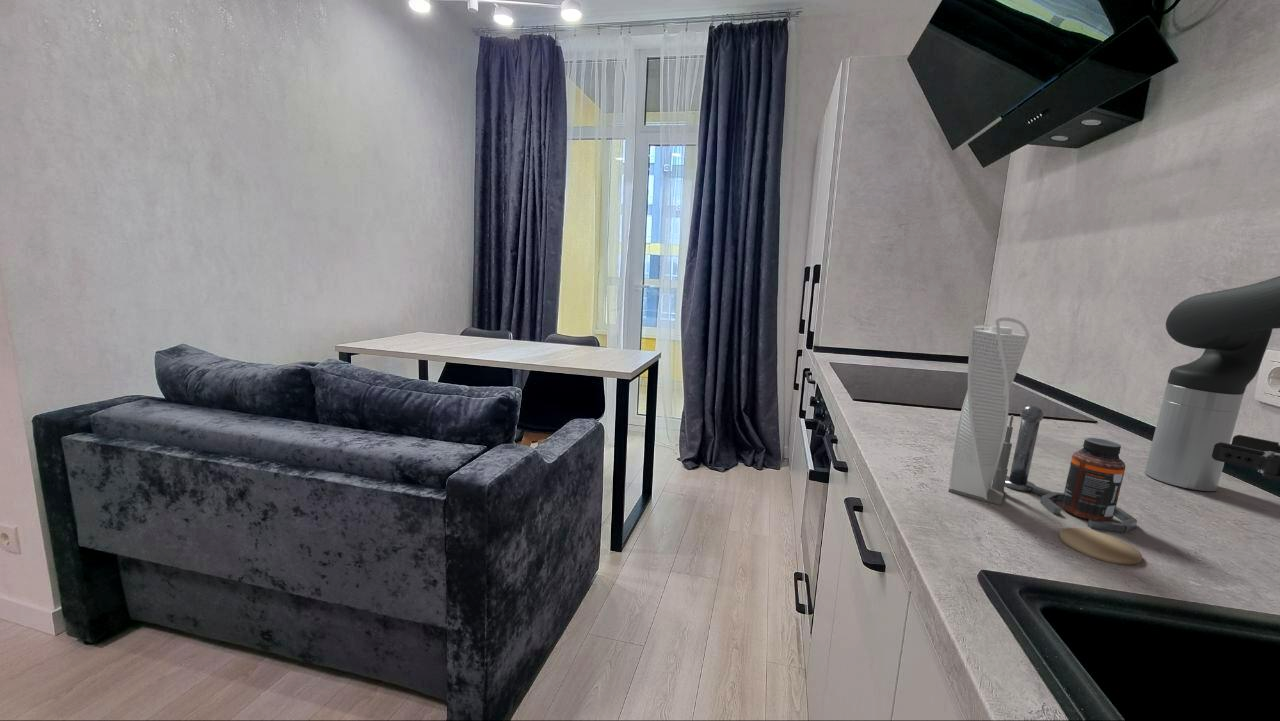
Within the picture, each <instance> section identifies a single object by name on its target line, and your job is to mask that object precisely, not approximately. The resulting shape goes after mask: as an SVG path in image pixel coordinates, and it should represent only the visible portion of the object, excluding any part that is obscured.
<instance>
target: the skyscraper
mask: <svg viewBox="0 0 1280 721" xmlns="http://www.w3.org/2000/svg"><path fill="white" fill-rule="evenodd" d="M1000 322H1011V323H1015V324H1017V325H1018V326H1020V327H1021V328H1022V329H1023V331H1024V333H1025V335H1024V334H1021V333H1020V334H1019V333H1014V332H1013V327H1009V326H1008V327H1007V326H1000ZM978 328H981V329H978ZM985 328H986V329H989V330H985ZM982 329H983V330H982ZM1030 336H1031V335H1030V333H1029V330H1028V328H1027V326H1026V325H1025V324H1024V323H1023V322H1022V321H1021V320H1019V319H1015V318H1011V317H999V318H997V319H995V325H990V324H973V325H972V326H971V328H970V337H969V338H970V339H969V347H968V348H969V349H968V361H967V362H968V363H967V365H968V366H967V391H966V394H965V397H964V400H963V402H962V403H963V404H962V407H961V411H960V415H959V419H958V423H957V428H956V432H955V439H954V444H953V452H952V458H951V468H950V475H949V482H948V483H949V486H948V492H949V493H954V494H957V495H960V496H961V495H962V496H964V497H968V498H972V499H975V498H976V500H979V499H980V500H979V501H983V502H986V501H987V503H990V504H994V505H998V506H1002V505H1003V504H1002V503H1003V498H1004V494H1005V481H1006V476H1008V466H1009V461H1010V457H1011V452H1012V451H1011V450H1012V445H1013V442H1011V438H1012V435H1013V434H1012V433H1013V430H1014V429H1013V428H1014V426H1013V422H1014V415H1013V414H1012V415H1010V419H1009V407H1010V404H1009V403H1010V395H1009V393H1010V389H1011V388H1012V385H1013V383H1014V380H1015V378H1016V376H1017V372H1018V370H1019V368H1020V365H1021V362H1022V359H1023V357H1024V354H1025V351H1026V348H1027V346H1028V342H1029V340H1030ZM1008 420H1010V421H1009V425H1008Z"/></svg>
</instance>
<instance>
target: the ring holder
mask: <svg viewBox="0 0 1280 721" xmlns="http://www.w3.org/2000/svg"><path fill="white" fill-rule="evenodd" d="M1020 418H1021V421H1020V426H1019V428H1018V429H1019V431H1018V434H1017V440H1016V445H1015V450H1014V454H1013V460H1012V463H1011V464H1012V465H1011V469H1010V473H1009V474H1010V475H1007V476H1006V481H1005V486H1004V488H1005V487H1006V488H1008V489H1011V490H1014V491H1018V492H1023V493H1033V494H1037V495H1039V496H1041V498H1040V502H1039V503H1040V504H1041V505H1042V506H1043V507H1044V508H1045V509H1047V510H1048V511H1049V512H1051V514H1052V515H1058V516H1060V515H1061V511H1062V507H1060V506H1058V505H1057V504H1056V503H1055V502H1056V501H1061V502H1062V500H1063V495H1064V492H1057V491H1052V490H1048V489H1045V488H1043V487H1039V486H1037V485H1036V484H1035V483H1033V482H1031V481H1028V479H1029V475H1030V469H1031V465H1032V460H1033V456H1034V451H1035V446H1036V442H1037V438H1038V432H1039V428H1040V423H1041V421H1042V420H1044V412H1043V410H1042V409H1041V408H1040V407H1039V406H1037V405H1032V404H1030V405H1026V406H1024V407H1023V408H1022V409H1021V411H1020ZM1114 516H1115V517H1116V518H1117V519H1119V520H1120V521H1122V522H1120V523H1119V522H1114V521H1109V522H1108V521H1101V520H1094V519H1089V520H1088V522H1087V526H1088V527H1089V528H1090V529H1095V530H1103V531H1109V532H1115V533H1122V534H1123V533H1124V534H1125V533H1128V532H1129V531H1131V530H1133V529H1135V528H1136V527H1137V522H1138V520H1137V518H1135V517H1133V516H1132V515H1131V514H1129V513H1127V512H1126V511H1125V510H1123V509H1122V508H1120V507H1117V506H1116V509H1115V514H1114Z"/></svg>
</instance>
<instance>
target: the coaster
mask: <svg viewBox="0 0 1280 721" xmlns="http://www.w3.org/2000/svg"><path fill="white" fill-rule="evenodd" d="M1059 538H1060V540H1061V542H1062V543H1064V544H1065V545H1067V546H1068V547H1070V548H1071V549H1073V550H1075V551H1077V552H1078V553H1080V554H1081V553H1082V554H1084V555H1086V556H1088V557H1090V558H1094V559H1096V560H1100V561H1103V562H1107V563H1111V564H1117V565H1123V566H1136V565H1138V564H1140V563H1141V561H1142V557H1143V556H1142V553H1141V551H1139V550H1138V549H1137V548H1136V547H1134V546H1133V545H1131V544H1129V543H1127V542H1125V541H1123V540H1122V539H1118V538H1116V537H1114V536H1111V535H1108V534H1105V533H1102V532H1099V531H1096V530H1095V531H1094V530H1091V529H1087V528H1080V527H1065V528H1063V529H1061V530H1060V533H1059Z"/></svg>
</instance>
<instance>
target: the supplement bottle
mask: <svg viewBox="0 0 1280 721" xmlns="http://www.w3.org/2000/svg"><path fill="white" fill-rule="evenodd" d="M1121 446H1122V445H1121V444H1119V443H1117V442H1115V441H1111V440H1107V439H1102V438H1096V437H1085V439H1084V442H1083V444H1082V448H1081V449H1079V450H1076V451H1074V452H1073V454H1072V455H1071V456H1072V457H1071V461H1070V463H1069V464H1070V465H1069V470H1068V473H1067V478H1066V482H1065V486H1064V491H1063V493H1064V495H1063V500H1062V501H1061V508H1062V509H1063V510H1064V511H1066V512H1067V513H1069V514H1071V515H1072V516H1075V517H1077V518H1079V519H1080V518H1081V519H1084V520H1088V521H1089V519H1094V520H1101V521H1108V522H1112V521H1113V519H1114V516H1115V515H1114V514H1115V509H1116V507H1117V504H1118V500H1119V496H1120V493H1121V486H1122V482H1123V480H1124V476H1125V471H1126V463H1125V462H1124V461H1123V460H1122V459H1121V458H1120V454H1121V449H1122V447H1121Z"/></svg>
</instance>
